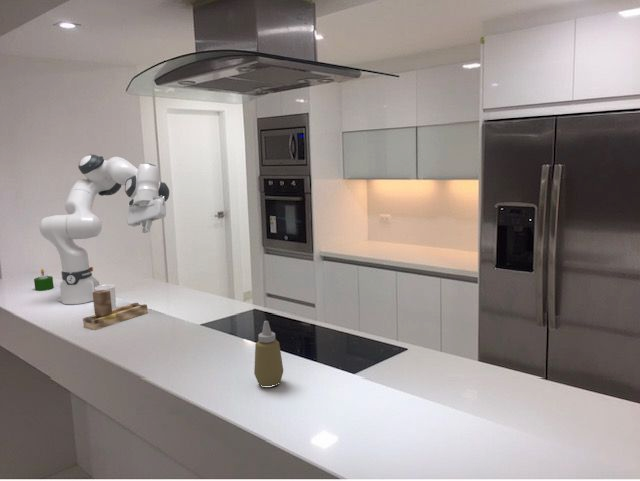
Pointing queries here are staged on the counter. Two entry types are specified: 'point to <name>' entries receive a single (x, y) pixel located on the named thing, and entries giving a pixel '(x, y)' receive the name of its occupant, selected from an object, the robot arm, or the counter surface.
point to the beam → (115, 316)
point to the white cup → (112, 293)
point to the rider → (102, 303)
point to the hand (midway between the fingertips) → (145, 232)
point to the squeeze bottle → (268, 358)
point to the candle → (43, 282)
